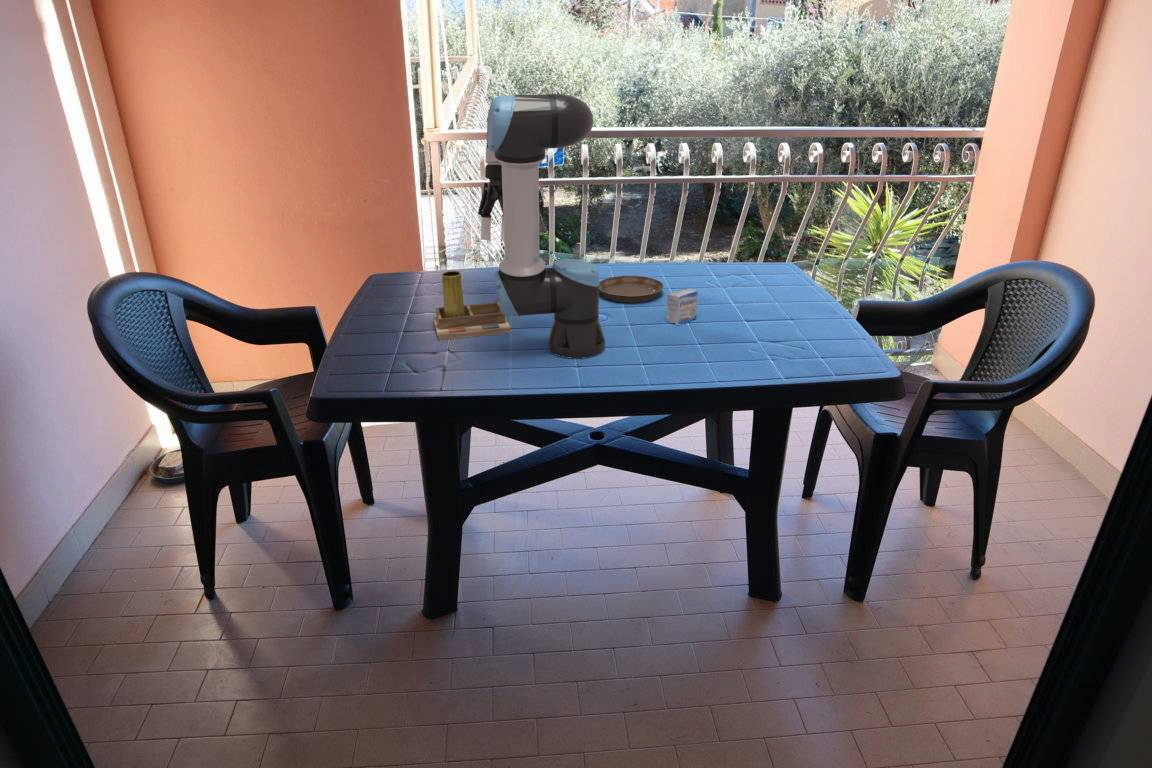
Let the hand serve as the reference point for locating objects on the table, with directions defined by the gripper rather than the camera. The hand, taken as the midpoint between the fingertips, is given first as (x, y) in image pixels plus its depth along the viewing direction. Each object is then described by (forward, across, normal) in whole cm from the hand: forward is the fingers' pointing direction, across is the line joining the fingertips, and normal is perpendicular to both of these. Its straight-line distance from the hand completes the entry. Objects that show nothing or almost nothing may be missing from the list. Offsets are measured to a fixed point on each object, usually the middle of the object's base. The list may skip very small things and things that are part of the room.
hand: (495, 240), depth 227 cm
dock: (+24, -6, +9) cm, 27 cm away
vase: (+24, -3, +13) cm, 27 cm away
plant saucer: (+14, -7, -44) cm, 47 cm away
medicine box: (+19, -33, -44) cm, 59 cm away
